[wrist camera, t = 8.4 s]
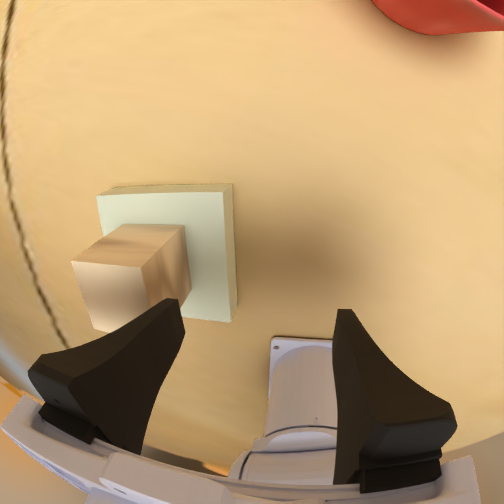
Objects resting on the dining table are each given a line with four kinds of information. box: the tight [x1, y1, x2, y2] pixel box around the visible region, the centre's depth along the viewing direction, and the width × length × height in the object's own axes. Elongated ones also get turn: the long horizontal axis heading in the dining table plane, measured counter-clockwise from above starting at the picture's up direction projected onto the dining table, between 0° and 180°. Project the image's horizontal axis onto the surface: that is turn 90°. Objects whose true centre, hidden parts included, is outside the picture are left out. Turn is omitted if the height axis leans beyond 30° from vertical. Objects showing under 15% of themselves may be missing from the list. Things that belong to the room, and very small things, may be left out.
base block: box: [96, 184, 238, 323], centre depth 22 cm, size 10×10×3 cm
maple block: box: [71, 224, 192, 333], centre depth 17 cm, size 5×5×6 cm
